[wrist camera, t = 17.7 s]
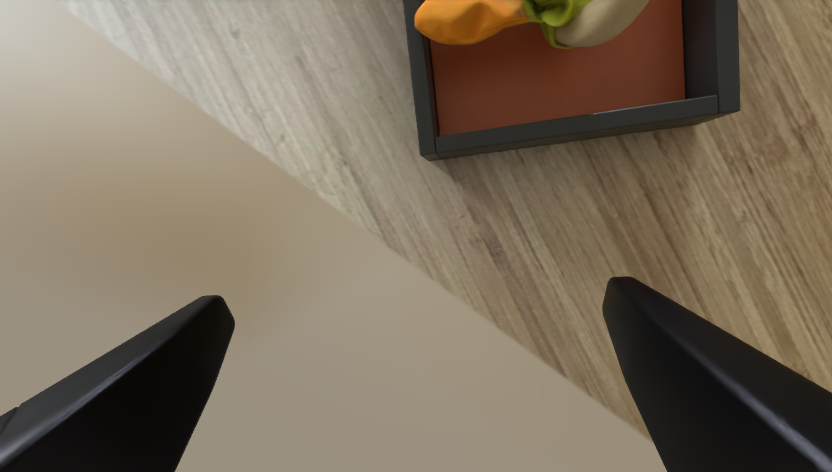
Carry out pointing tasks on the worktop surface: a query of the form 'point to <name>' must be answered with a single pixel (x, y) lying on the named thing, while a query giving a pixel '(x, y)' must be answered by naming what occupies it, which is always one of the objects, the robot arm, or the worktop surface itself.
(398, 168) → the worktop surface
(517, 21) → the rattle
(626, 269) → the worktop surface
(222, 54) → the worktop surface
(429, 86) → the tray
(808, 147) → the worktop surface
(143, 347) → the robot arm
